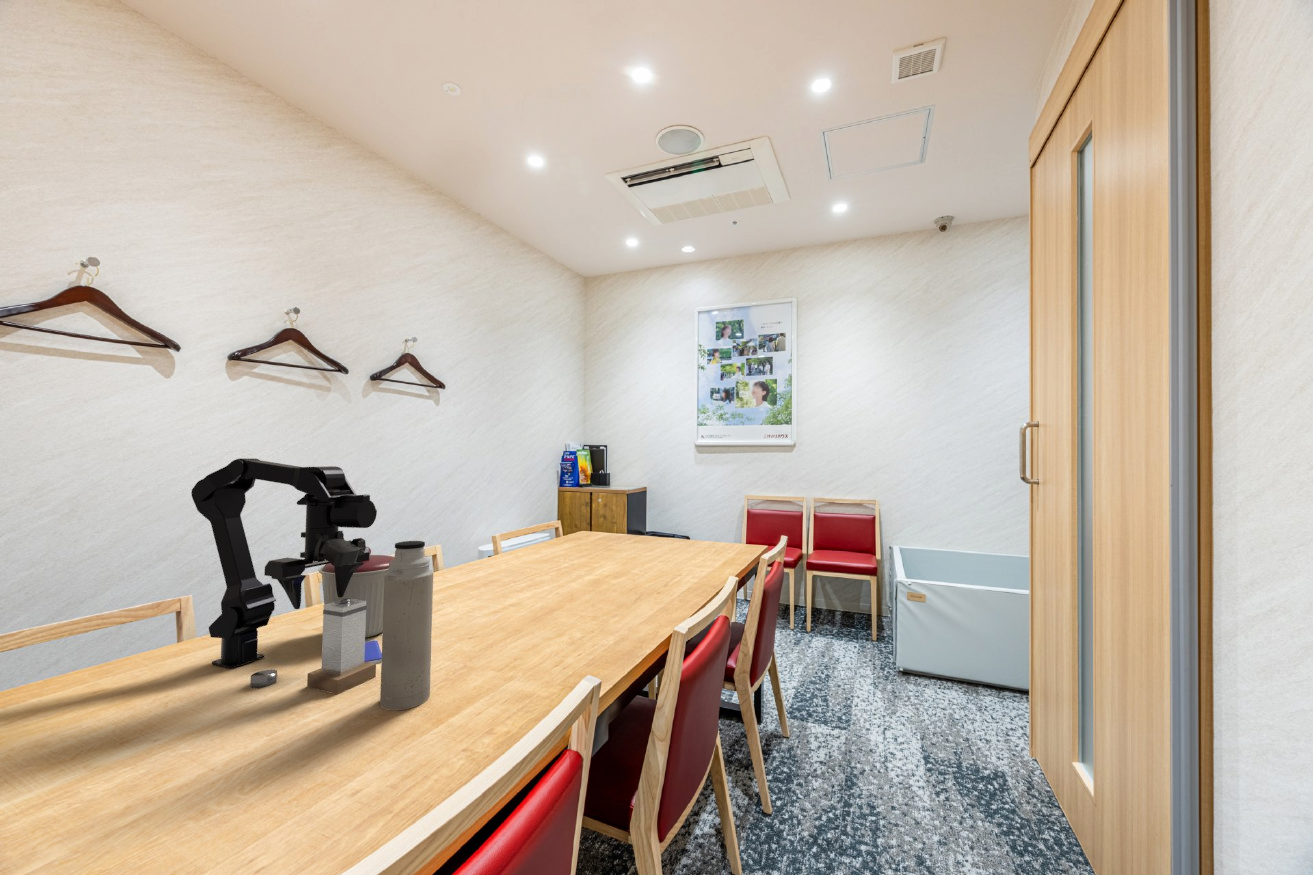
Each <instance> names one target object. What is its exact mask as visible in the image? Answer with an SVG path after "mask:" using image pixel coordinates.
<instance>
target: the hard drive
mask: <svg viewBox="0 0 1313 875" xmlns="http://www.w3.org/2000/svg"><path fill="white" fill-rule="evenodd" d="M364 661H365V662H369V663H374V664H376V665H377V664H381V662H382V649H381V647H380V644H379V641H378V640H375V639H374V640H369V641H368V640H367V641H365V656H364Z"/></svg>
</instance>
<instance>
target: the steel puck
mask: <svg viewBox="0 0 1313 875" xmlns="http://www.w3.org/2000/svg"><path fill="white" fill-rule="evenodd" d="M277 682H278V670H277V669H264V670H260V671H257V672H254V673H252V674H251V675H250V682H249V683H250V684H249V687H250V689H254V688H255V689H256V688H257V689H262V688H263V689H264V688H266V687H270V686H273V685H276V684H277Z"/></svg>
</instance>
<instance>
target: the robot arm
mask: <svg viewBox="0 0 1313 875" xmlns="http://www.w3.org/2000/svg"><path fill="white" fill-rule="evenodd" d="M257 480H259V481H265V482H271V483H278V484H284V485H289V486H290V487H291V486H292V487H294V489H296V490H297V491H300V492H302V493H305V494H304V495H303V497H302V498H299V499H298V500H297V502H296V505H298V506H306V507H305V508H306V509H305V510H306V511H305V531H302V532H300V538H304V539H305V540H304V551H302V552H299V553H300V554H299V558H297V557H296V558H293V557H282V558H277V559H271V560H269V561H268V562H267V563H266V564H265V566H264V574H263V575H264V576H267V577H271V579H272V580H277V582H278V583H279V585H280V586H281V587H282V588H283V590H284V591H285V593H286V596H287V598H288V599H289V601H290V603H291V605H292V607H293V609H294V610H300V608H301V604H302V603H301V602H302V585H303V584H302V583H303V581H304V580H305V579H306V577H307V575H305V574H303V573H304V572H305V570H306V569H309V568H314V567H319V566H325V565H326V564H330V563H331V565H333V566H334V569H335V580H336V590H337V595H338V597H340V598H341V597H343V596H344V593H345V591H346V588H347V586H348V584H349V581H350V579H351V577H352V575H353V573H354V571H355V570H356V569H357V568H359V567H360V566H362V565H364V563H363V561H368V560H370V555H371V554H370V552H369V551H368V549H367V548H366V547H367V546H366V545H367V544H366V539H364V538H363V537H358V538H357V537H356V538H353V539H352V540H346V539H345V537H344V532H343V530H339V528H346V529H347V528H352V529H356V528H357V529H368V528H370V527H371V526H372V525H373V524H374V523H375V521H376V518H377V513H378V510H377V508H376V506H375V503H374V502H373V501H372V500H371V495H370V494H359V495H357V493H356V492H355V490H354V488H353V486H352V485H351V484H350V482H349V481H348V479H347V478H346V475H345V472H344V469H343V468H341V467H340V466H336V465H335V466H334V465H333V466H297V465H292V464H286V463H279V462H272V461H268V460H261V459H259V458H236V459H234V460H232V461H231V462H230V463H228V464H227V465H226V466H223V467H221V468H220V469H218V470H214V471H213V472H211V473H209V474H207V475H206V476H205V477H203V478H202V479H200V480H198V481H197V482H196V483H195V484H194V486H193V487H192V489H191V498H192V501H193V503H194V505H195V508H196V510H197V511H198V513H200V515H202V517H204V518H205V519H207V520H208V521H209V522H210V525H211V529H212V533H213V537H214V541H215V545H216V550H217V553H218V558H219V561H220V564H221V569H222V573H223V577H224V581H225V585H226V589H225V591H224V594H223V597H222V599H221V601H220V607H221V608H220V609H221V614H220V615H219V616H218V617H217V618H216V619H214V621H213V622H212V623H211V624H210V625H209V626H208V630H209V631H208V632H209V635H210V636H209V637H210V638H215V639H217V638H218V639H221V640H220V642H221V644H220V658H218V659H216V660H212V662H211V664H212V665H215V666H217V667H218V666H219V667H221V668H222V667H223V668H227V669H234V668H237V667H240V666H242V665H245V664H248V663H251V662H255V661H257V660H260V659H263V658H265V654H263V653H258V644H259V643H258V641H259V639H258V635H259V634H258V632H259V631H258V630H259V628H261V627H266V626H268V625H269V621H270V619H271V616H272V614H273V611H275V607H276V605H275V602H277V599H276V597H275V595H274V592H273V586H272V584H271V583H268V582H267V583H265V584H264V583H262V582H261V581H260V580H259V579H258V578H257V575H256V572H255V566H254V563H253V560H252V559H253V558H252V555H251V553H250V548H249V543H248V540H247V536H246V532H245V529H244V524H243V520H242V517H241V516H242V512H243V510H244V508H245V505H246V502H247V501H246V494H247V493H248V492H249V491H251V489H252V488H253V487H254V485H255V482H256V481H257Z"/></svg>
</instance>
